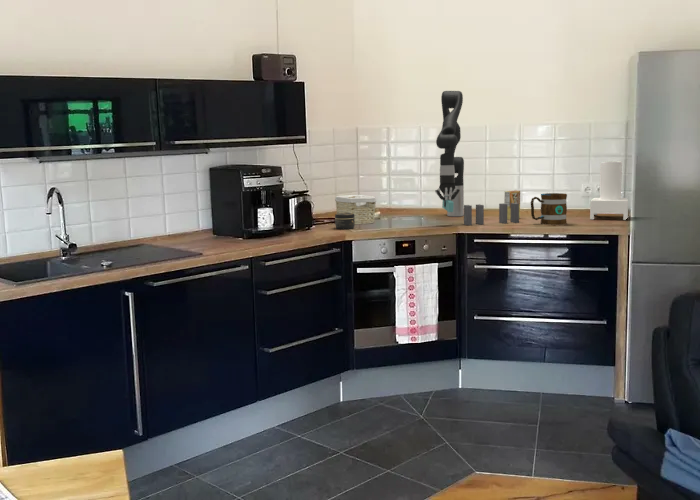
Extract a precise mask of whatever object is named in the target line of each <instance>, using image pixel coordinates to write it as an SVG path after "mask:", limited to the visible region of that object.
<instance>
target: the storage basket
mask: <svg viewBox="0 0 700 500" xmlns="http://www.w3.org/2000/svg"><path fill="white" fill-rule="evenodd" d="M334 200H335V206H336V207H335V208H336V209H335V210H336V214H338V213H353V214H354V216H355V218H354V221H355V225H365V224H366V225H368V224H374V223H375V217H376V215H375V214H376V213H375V212H376V202H377V198H376V196H372V195H367V194H350V195H349V194H348V195H336V196H335V199H334Z"/></svg>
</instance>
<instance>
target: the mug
mask: <svg viewBox="0 0 700 500" xmlns="http://www.w3.org/2000/svg"><path fill="white" fill-rule="evenodd" d="M567 198H568V194H567V193H561V192H560V193H559V192H554V193H553V192H551V193H550V192H549V193H548V192H547V193H540V198H539V197H538V196H534V197H532V198H531V200H530V213H531V214H530V215H531V217H532V219H533V220H534V221H538V220H540V224H541V225H549V226H550V225H554V226H555V225H557V226H558V225H567V223H568V222H567V212H568V206H567V200H568V199H567ZM535 200H537V201H538V202H539V203H540V216H538V217H536V216H535V206H534V203H535Z"/></svg>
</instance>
